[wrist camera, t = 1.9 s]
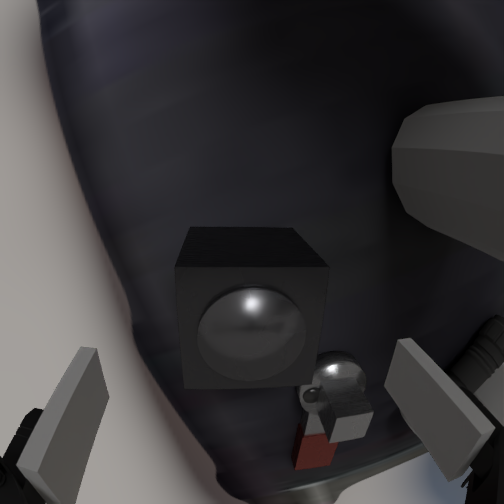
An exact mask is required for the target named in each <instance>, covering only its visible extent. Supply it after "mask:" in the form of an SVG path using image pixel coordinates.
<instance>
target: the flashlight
mask: <svg viewBox="0 0 504 504" xmlns="http://www.w3.org/2000/svg"><path fill="white" fill-rule="evenodd" d="M473 343H474V344H473V345H472V346H470V347H469V349H468V350H466V352H465V354H464V355H463V356H462V357H461V358H460V360H459V361H458V362H457V363H456V364H455V365H454V366H453V367H452V368H451V369H450V371H451V372H450V373H448V374H447V376H448V377H449V378H450V379H451V380H452V381H453V382H454V383H455V384H456V385H457V386H458V387H461V386H462V387H464V388H465V389H467V390H469V391H471V392H472V393H473V394H474V393H475V392H476V391H477V390H478V389H479V387H480V386H481V385H482V384H483V383H484V382H485V381H486V380H487V379H488V378H490V377H491V375H492V374H493V373H495V370H496V369H498V368H499V367H500V366H501V365H502V364H503V363H504V318H503V317H501V316H499V315H495V316H494V317H493V319H489V320H488V322H487V323H486V324H485V325H484V326H483V328H482V329H481V330H480V331H479V336H478V337H477V338H476V339H475V341H474V342H473ZM400 413H401V415H402V417H403V418H404V420H405V421H406V423H407V424H408V426H409V427H410V428H411V429H412V431H413V432H414V433H415V434H416V432H415V431H414V429H413V428H412V426H411V425H410V423H409V422H408V420H407V419H406V417H405V416H404V414H403V413H402V412H401V410H400ZM416 435H417V434H416ZM417 436H418V435H417Z"/></svg>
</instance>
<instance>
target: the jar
mask: <svg viewBox="0 0 504 504" xmlns="http://www.w3.org/2000/svg"><path fill="white" fill-rule="evenodd" d="M392 183H393V185H394V187H395V189H396V192H397V194H398V196H399V198H400V200H401V202H402V204H403V206H404V209H405V211H406V213H408V214H409V215H411V216H412V217H414V218H415V219H417V220H418V221H420V222H421V223H423V224H424V225H425V226H427V227H429V228H431V229H433V230H436V231H438V232H440V233H443V234H445V235H447V236H449V237H452V238H454V239H456V240H458V241H461V242H463V243H465V244H467V245H469V246H472V247H474V248H476V249H478V250H480V251H482V252H484V253H487V254H489V255H491V256H493V257H495V258H497V259H499V260H501V261H503V262H504V96H498V97H486V98H476V99H467V100H459V101H451V102H444V103H437V104H430V105H426V106H424V107H422V108H421V109H419V110H418V111H416V112H414V113H413V114H411V115H410V116H408V117H406V118H405V119H404V121H403V123H402V125H401V128H400V130H399V132H398V135H397V137H396V139H395V141H394V143H393V146H392Z"/></svg>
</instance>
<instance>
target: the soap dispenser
mask: <svg viewBox="0 0 504 504" xmlns="http://www.w3.org/2000/svg"><path fill="white" fill-rule="evenodd" d="M474 395H475V396H476V397H477V399H478V400H479V401H480V402H481V403H482V404H483V406H485V407H486V408H487V409H488V410H489V411H490V412H491V413H492V415H493V416H494V417H495V418H496V419H497V420H498V421H499V422H500V423H501V424H502V425H503V426H504V363H503V364H502V365H501V366H500V367H499V368H498V369H496V370H495V373H493V374H492V375H491V377H490V378H488V379H487V380H486V381H485V382H484V383H483V384H482V385H481V386H480V387H479V389H478V390H477V391H476V392H475V393H474Z"/></svg>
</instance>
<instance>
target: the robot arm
mask: <svg viewBox="0 0 504 504" xmlns="http://www.w3.org/2000/svg"><path fill="white" fill-rule="evenodd" d="M384 387H385V388H386V390H387V391H388V393H389V394H390V396H391V397H392V398H393V400H394V401H395V403H396V404H397V406H398V407H399V409H400V410H401V412H402V413H403V414H404V416H405V417H406V419H407V420H408V422H409V423H410V425H411V426H412V428H413V429H414V431H415V432H416V434H417V435H418V437H419V438H420V440H421V441H422V443H423V444H424V446H425V447H426V449H427V450H428V452H429V453H430V455H431V456H432V458H433V459H434V461H435V462H436V464H437V465H438V467H439V468H440V470H441V471H442V473H443V474H444V476H445V477H446V479H447V481H448V482H450V481H452V480H454V479H456V478H458V477H460V476H462V475H463V474H464V473H465V471H466V470H467V469H468V467H469V466H470V467H471V468H472V469H473V471H472V472H471V473H470V475H469V476H468V477H467V478H466V479H465V481H464V482H463V483H462V485H461V487H462V488H463V487H464V486H465V484H466V483H467V482H468V481H469V483H468V486H467V487H466V488H468V489H467V494H466V500H465V504H504V426H503V425H502V424H501V423H500V422H499V421H498V420H497V419H496V418H495V417H494V416H493V415H492V413H491V412H490V411H489V410H488V409H487V408H486V407H485V406H483V404H482V403H481V402H480V401H478V399H477V397H476V396H475V395H474V394H473V393H472V392H471V391H469V390H467V389H465V388H464V387H462V386H461V387H458V386H457V385H456V384H455V383H454V382H453V381H452V380H451V379H450V378H449V377H448V376H447V375H446V373H445V372H444V371H443V370H442V369H441V368H440V367H439V366H438V365H437V364H436V363H435V362H434V361H433V360H432V359H431V358H430V357H429V356H428V355H427V354H426V353H425V352H424V351H423V350H422V349H421V348H420V347H419V346H418V345H417V344H416V343H415V342H414V341H413V340H412V339H411V338H406V339H399V340H397V344H396V347H395V351H394V354H393V358H392V361H391V365H390V368H389V371H388V374H387V378H386V381H385V384H384ZM108 399H109V394H108V391H107V387H106V383H105V380H104V376H103V372H102V368H101V364H100V360H99V356H98V352H97V349H96V348H88V347H80V349H79V350H78V352H77V354H76V356H75V357H74V359H73V360H72V362H71V364H70V365H69V367H68V369H67V370H66V372H65V374H64V375H63V377H62V379H61V381H60V382H59V384H58V386H57V387H56V389H55V391H54V393H53V395H52V396H51V398H50V400H49V402H48V404H47V405H46V407H45V409H44V410H42V409H37V408H34V409H33V410H32V411H30V412H29V413H28V414H27V415H26V416H25V417H24V419H23V421H22V423H21V424H20V427H19V428H18V430H17V431H16V435H14V437H13V439H12V441H11V443H10V444H9V446H8V448H7V450H6V452H5V454H4V456H3V458H1V456H0V504H45V503H47V504H75V503H76V499H77V495H78V492H79V488H80V485H81V481H82V478H83V475H84V471H85V468H86V465H87V462H88V458H89V455H90V452H91V449H92V446H93V443H94V440H95V437H96V434H97V430H98V428H99V425H100V422H101V419H102V416H103V414H104V411H105V408H106V405H107V402H108Z"/></svg>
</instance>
